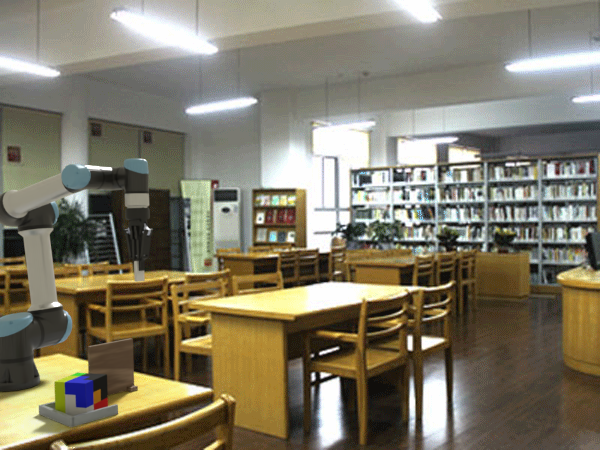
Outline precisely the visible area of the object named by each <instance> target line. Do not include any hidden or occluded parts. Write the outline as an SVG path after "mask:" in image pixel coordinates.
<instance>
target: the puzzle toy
mask: <svg viewBox="0 0 600 450" xmlns="http://www.w3.org/2000/svg"><path fill="white" fill-rule="evenodd" d="M54 401H55V410H58V411H60V412H63V413H65V414H68V415H71V416H75V415H78V414H82V413H86V412H89V411H93V410H97V409H100V408H104V407H107V406H109V395H108V388H107V374H92V373H88V372H87V373H86V372H75V373H72V374H71V375H67V376H66V377H65V376H64V377H63V378H60V379H58V380H55V381H54Z"/></svg>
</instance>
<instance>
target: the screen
mask: <svg viewBox="0 0 600 450" xmlns="http://www.w3.org/2000/svg"><path fill="white" fill-rule="evenodd" d="M87 364H88V365H87V370H88V372H87V373H92V374H107V388H108V396H111V394H112V395H114V394H119V393H122V392H126V391H128V392H136V391H138V389H139V388H138V386H137V385H135V371H134V370H135V368H134V367H135V365H134V339H133V338H131V337H130V338H125V339H120V340H115V341H108V342H104V343H99V344H94V345H88V346H87Z"/></svg>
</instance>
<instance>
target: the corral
mask: <svg viewBox="0 0 600 450" xmlns="http://www.w3.org/2000/svg"><path fill="white" fill-rule="evenodd" d="M118 414H119V404H117V403H115V404H112V405H108V406H107V407H104V408H100V409H97V410H93V411H89V412H86V413H82V414H78V415H75V416H71V415H68V414H65V413H63V412H60V411H58V410H55V400H54V401H51V402H47V403H43V404H39V405H38V415H40V416H43V417H45V418H46V419H47V418H48V419H50V420H52V421H54V422H57V423H59V424H61V425H64V426H66V427H69V428H73V427H77V426H80V425H83V424H88V423H91V422H93V421H94V422H95V421H97V420H101V419H104V418H108V417H112V416H115V415H118Z"/></svg>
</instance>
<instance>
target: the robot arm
mask: <svg viewBox="0 0 600 450" xmlns="http://www.w3.org/2000/svg"><path fill="white" fill-rule="evenodd" d="M148 163H149V162H148V161H147V160H146V159H144V158H125V159H124V161H123V165H122V166H102V165H91V164H83V163H75V164H74V163H72V164H67V165H65V167H64V168H63V169H62V171H61V172H60V173H57V174H56V175H52V176H50V177H48V178H45V179H42V180H41V181H37V182H36V183H33V184H30V185H28V186H26V187H23V188H21V189H18V190H17V189H10V190H7V191H5V192H2V193H0V224H1V225H3V226H6V227H11V228H13V227H14V228H15V227H16V228H17V234H19V235H20V236H21V237H22V238H23V245H24V253H25V262H26V269H27V278H28V279H27V280H28V288H29V295H30V303H31V304H30V306H29V308H28V309H27V311H25V312H23V311H22V312H16V313H11V314H6V315H3V316H1V317H0V392H14V391H20V390H26V389H30V388H33V387H35V386H38V385H39V384H40V383H41V376H40V372H39V370H38V368H37V365H36V362H35V359H34V350H37V349H42V348H45V347H51V346H52V347H53V346H56V345H58V344H60V343H63V342H65V341H66V340H68V337H69V336H70V335H71V332H72V329H73V320H72V316H71V315H70V314H69V312H68V311H66V310H64V306H63V304H62V303H60V302H59V301H58V295H57V294H58V293H57V286H56V278H55V277H56V276H55V269H54V262H53V261H54V260H53V251H52V246H51V236H50V235H51V233H52V232H54V225H55V224H56V223H57V221H58V218H59V213H60V212H59V211H60V210H59V206H58V204H57V203H56V201H58V200H61V199H63V198H66V197H69V196H71V195H74V194H77V193H79V192H82V191H85V190H86V191H87V190H96V191H97V190H99V191H104V192H106V191H107V192H111V191H121V190H123V191H124V206H125V207H126V208H125V211H124V212H125V213H124V215H125V216H124V217H125V220H127V221H128V225H127V228H126V229H125V228H124V229H123V233H124V236H125V240H126V246H127V247H126V248H127V251H128V253H127V254H128V257H129V259H132V261H133V271H134V274H133V275H134V282H135V283H136V282H145V271H146V270H145V267H146V265H145V261H146V260H147V259H149V257H150V251H151V250H150V249H151V241H152V235H153V232H154V229H153V228H149V226H148V220H149V219H150V217H151V215H150V213H151V211H150V208H149V206H150V190H149V189H150V187H149V185H150V184H149V183H150V181H149V179H150V178H149V176H150V171H149V164H148Z"/></svg>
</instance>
